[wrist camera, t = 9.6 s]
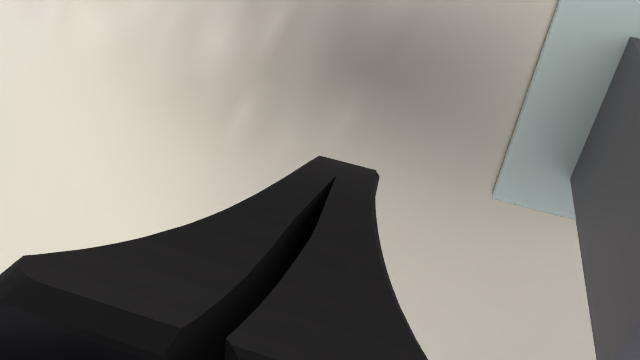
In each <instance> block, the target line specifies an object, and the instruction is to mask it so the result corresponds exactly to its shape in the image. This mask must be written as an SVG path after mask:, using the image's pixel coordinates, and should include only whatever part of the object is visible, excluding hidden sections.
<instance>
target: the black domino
mask: <svg viewBox="0 0 640 360" xmlns="http://www.w3.org/2000/svg"><path fill="white" fill-rule="evenodd" d="M570 183H571V190H572V197H573V203H574V210H575V217H576V224H577V230H578V237H579V244H580V251H581V257H582V264H583V271H584V278H585V284H586V291H587V298H588V305H589V311H590V318H591V325H592V332H593V338H594V345H595V352H596V359H597V360H640V38H635V37H630V38H629V40H628V43H627V45H626V47H625V50H624V52H623V54H622V57H621V59H620V62H619V64H618V66H617V69H616V71H615V73H614V76H613V78H612V80H611V83H610V85H609V88H608V90H607V92H606V95H605V97H604V99H603V102H602V104H601V107H600V109H599V111H598V114H597V116H596V118H595V121H594V123H593V125H592V128H591V130H590V133H589V135H588V137H587V140H586V142H585V144H584V147H583V149H582V152H581V154H580V156H579V159H578V161H577V163H576V166H575V168H574V171H573V173H572V175H571V178H570Z"/></svg>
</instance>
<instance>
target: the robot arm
mask: <svg viewBox="0 0 640 360" xmlns="http://www.w3.org/2000/svg"><path fill="white" fill-rule="evenodd" d="M379 177H380V176H379V175H378V173H377V172H376V170H373V169H369V168H365V167H361V166H357V165H353V164H349V163H345V162H342V161H338V160H334V159H330V158H326V157H322V156H318V157H316V158H315V159H313V160H311V161H310V162H308V163H306V164H305V165H303V166H302V167H300V168H299V169H297V170H295V171H294V172H292V173H291V174H289V175H288V176H286V177H284V178H283V179H281V180H279V181H278V182H276V183H274V184H273V185H271V186H269V187H268V188H266V189H264V190H262V191H261V192H259V193H257V194H255V195H253V196H251V197H249V198H248V199H246V200H244V201H242V202H240V203H238V204H236V205H234V206H232V207H230V208H228V209H225V210H223V211H221V212H218V213H216V214H214V215H211V216H209V217H206V218H203V219H201V220H198V221H195V222H193V223H190V224H187V225H184V226H181V227H177V228H174V229H171V230H167V231H164V232H160V233H157V234H153V235H150V236H146V237H143V238H139V239H134V240H130V241H125V242H121V243H116V244H110V245H105V246H99V247H94V248H87V249H81V250H72V251H64V252H55V253H47V254H38V255H26V256H23V257H21V258H20V259H19V260H17V261H16V262H15V263H14V264H12V265H11V266H10V267H9V268H8V269H6V270H5V271H4V272H3V273H2V274H0V360H428V359H427V357H426V355H425V354H424V352H423V350H422V349H421V347H420V345H419V343H418V342H417V340H416V338H415V336H414V334H413V332H412V330H411V328H410V326H409V324H408V322H407V320H406V318H405V316H404V314H403V312H402V310H401V308H400V305H399V303H398V300H397V298H396V295H395V293H394V290H393V288H392V285H391V282H390V279H389V276H388V273H387V269H386V266H385V262H384V258H383V254H382V250H381V245H380V240H379V235H378V228H377V219H376V209H375V195H376V191H377V186H378V181H379Z"/></svg>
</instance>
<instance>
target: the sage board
mask: <svg viewBox="0 0 640 360" xmlns="http://www.w3.org/2000/svg"><path fill="white" fill-rule="evenodd" d="M630 37H635V38H640V0H559V1H558V4H557V7H556V10H555V13H554V16H553V19H552V22H551V25H550V28H549V31H548V33H547V36H546V39H545V42H544V45H543V48H542V51H541V54H540V57H539V60H538V63H537V66H536V68H535V71H534V74H533V77H532V80H531V83H530V86H529V89H528V92H527V95H526V98H525V100H524V103H523V106H522V109H521V112H520V115H519V118H518V121H517V124H516V127H515V130H514V132H513V135H512V138H511V141H510V144H509V147H508V150H507V153H506V156H505V159H504V162H503V164H502V167H501V170H500V173H499V176H498V179H497V182H496V185H495V188H494V191H493V196H492V199H496V200H500V201H504V202H508V203H512V204H516V205H519V206H523V207H527V208H531V209H535V210H539V211H543V212H546V213H550V214H554V215H558V216H562V217H566V218H570V219H573V220H576V217H575V210H574V203H573V197H572V190H571V183H570V178H571V175H572V173H573V171H574V168H575V166H576V163H577V161H578V159H579V156H580V154H581V152H582V149H583V147H584V144H585V142H586V140H587V137H588V135H589V133H590V130H591V128H592V125H593V123H594V121H595V118H596V116H597V114H598V111H599V109H600V107H601V104H602V102H603V99H604V97H605V95H606V92H607V90H608V88H609V85H610V83H611V80H612V78H613V76H614V73H615V71H616V69H617V66H618V64H619V62H620V59H621V57H622V54H623V52H624V50H625V47H626V45H627V43H628V40H629V38H630Z"/></svg>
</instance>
